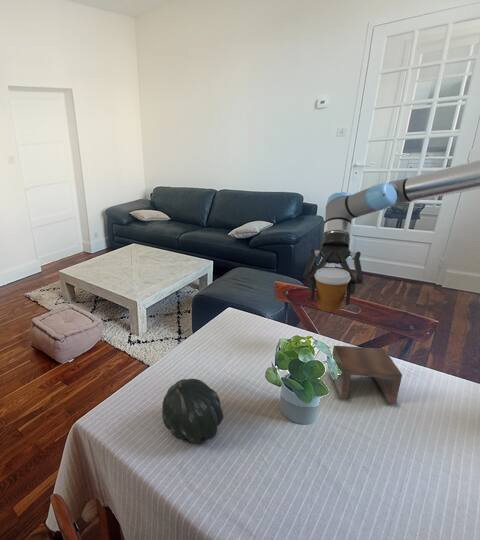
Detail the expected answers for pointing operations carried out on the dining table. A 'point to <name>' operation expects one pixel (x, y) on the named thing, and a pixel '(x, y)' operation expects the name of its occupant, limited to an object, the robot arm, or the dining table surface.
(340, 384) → the shelf
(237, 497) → the dining table surface
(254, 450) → the dining table surface
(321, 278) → the disposable coffee cup
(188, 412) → the squash
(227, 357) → the dining table surface
